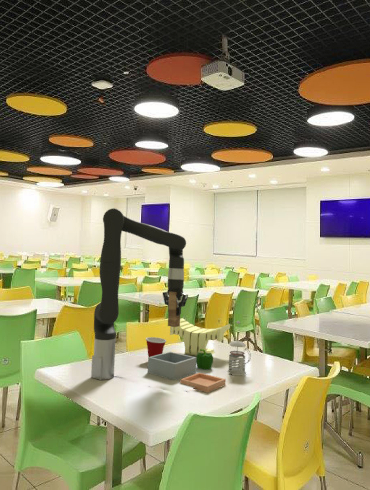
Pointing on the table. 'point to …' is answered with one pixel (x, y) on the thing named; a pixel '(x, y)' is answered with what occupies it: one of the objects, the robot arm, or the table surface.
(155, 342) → the plastic cup
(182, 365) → the grey tub
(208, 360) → the bell pepper
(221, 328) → the slatted curved stool
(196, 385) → the terracotta tray
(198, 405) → the table surface
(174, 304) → the walnut stick
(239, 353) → the french press
